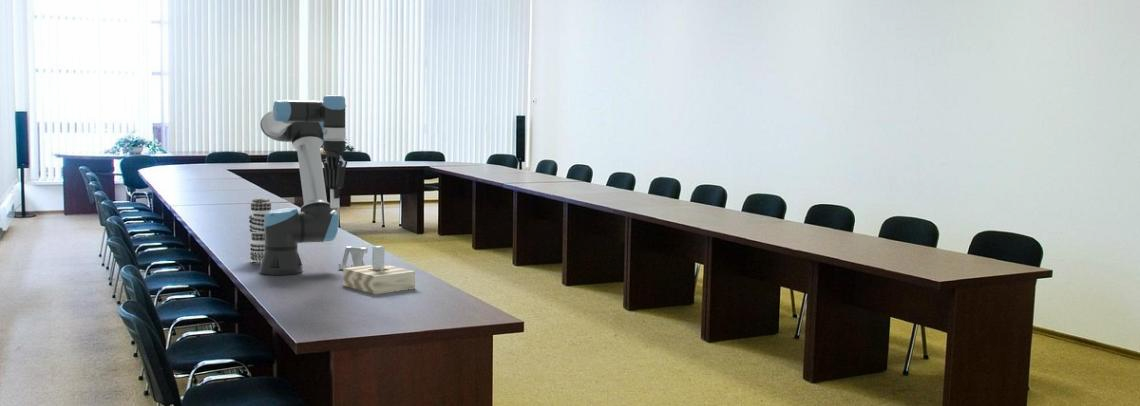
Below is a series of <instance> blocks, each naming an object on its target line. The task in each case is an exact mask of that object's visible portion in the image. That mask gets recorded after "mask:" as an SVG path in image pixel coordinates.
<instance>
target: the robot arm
mask: <svg viewBox="0 0 1140 406" xmlns="http://www.w3.org/2000/svg"><path fill="white" fill-rule="evenodd" d="M322 98H323V99H322V100H293V99H292V100H291V99H282V100H281V99H280V100H279V99H278V100H277V99H276V100H275V101H274V102H273V105H272V111H268V112H266V113H265V114H264V115H263V116H262V118H261V120H260V129H261V131H262V133H263V134H264V135H265V136H266V137H268V138H269V139H271V140H273V141H277V142H284V143H285V142H286V143H287V142H288V143H291V145H292V147H293V149H294V150H296V151H297V159H298V169H299V176H300V182H301V183H300V184H301V185H300V186H301V190H302V192H301V193H302V199H303V205H302V206H301V207H300V211H298V209H297V207H285V208H278V209H272V211H270V212H268V213H266V215H265V220H264V226H265V253H264V256H263V259H262V262H261V263H260V266H259V272H260V274H262V275H268V276H270V275H271V276H284V275H287V276H288V275H297V274H299V273H303V268H304V267H303V263H302V259H301V257H300V254H299V251H298V245H299V244H301V243H302V244H304V243H305V244H306V243H325V242H333V241H334V240H335V239H336V238H337V235H338V230H339V223H340V222H339V220H340V218H339V213H338V211H337V210H335V209H339V208H340V190H341V189H342V188H344V183H345V175H346V168H347V165H348V161H347V160H344V155H343V152H346V147H347V144H346V143H347V142H346V138H347V137H346V134H347V133H346V129H347V128H346V107H347V105H346V98H345V96H344V95H330V94H329V95H324V96H323V97H322ZM322 146H323V148H322V149H323V151H324V152H326V155H325V156H326V157H325V158H322V155H321V147H322ZM326 187H328V188H329V196H330V197H329V198H330V202H328V200H327V192H326V191H327V190H326ZM333 209H334V210H333Z"/></svg>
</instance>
